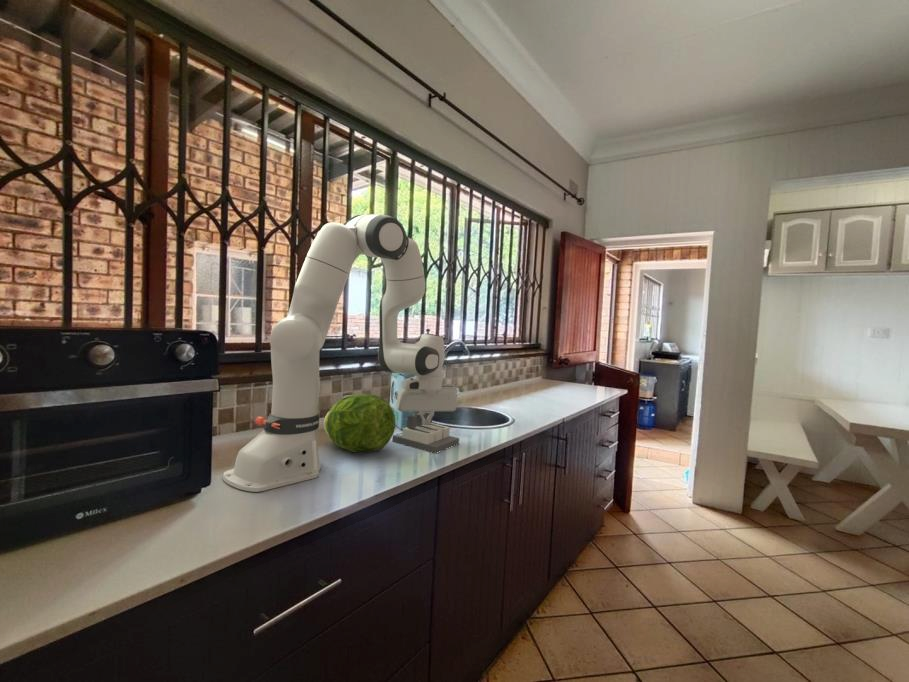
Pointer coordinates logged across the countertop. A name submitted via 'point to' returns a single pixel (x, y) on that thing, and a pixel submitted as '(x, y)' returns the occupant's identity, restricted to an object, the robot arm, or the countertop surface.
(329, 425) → the lettuce
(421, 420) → the block
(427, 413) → the breaker
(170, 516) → the countertop surface
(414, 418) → the breaker
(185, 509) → the countertop surface
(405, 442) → the breaker panel
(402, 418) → the gum box
